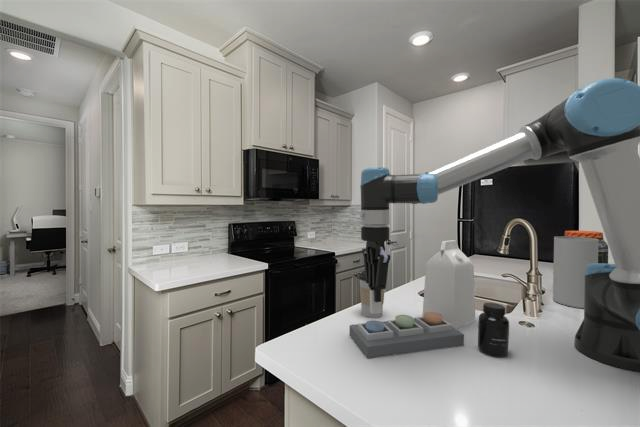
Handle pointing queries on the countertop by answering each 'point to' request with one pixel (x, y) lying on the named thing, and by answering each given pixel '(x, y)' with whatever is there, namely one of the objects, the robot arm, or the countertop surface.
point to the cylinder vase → (572, 268)
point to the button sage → (404, 321)
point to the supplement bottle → (493, 330)
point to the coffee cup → (368, 298)
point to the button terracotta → (432, 318)
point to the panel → (405, 338)
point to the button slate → (374, 326)
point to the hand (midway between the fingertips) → (375, 312)
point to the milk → (450, 285)
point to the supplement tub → (596, 235)
